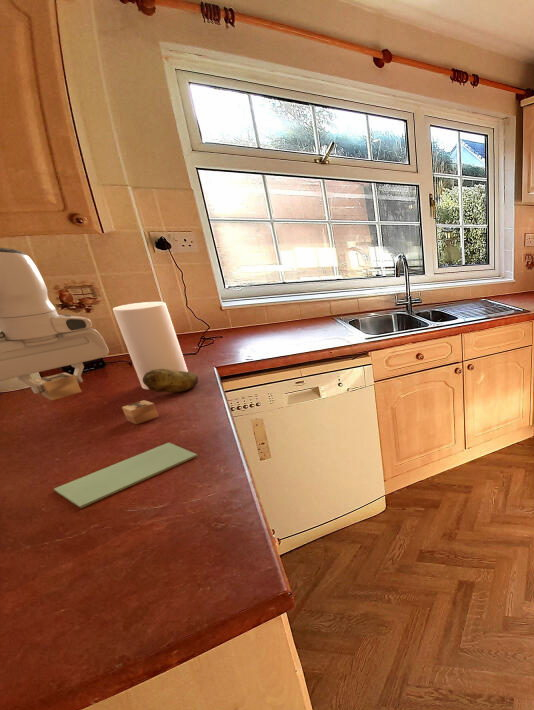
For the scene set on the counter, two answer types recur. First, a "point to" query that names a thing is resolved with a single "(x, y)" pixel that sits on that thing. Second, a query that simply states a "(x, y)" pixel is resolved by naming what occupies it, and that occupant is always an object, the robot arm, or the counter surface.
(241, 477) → the counter surface
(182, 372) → the potato
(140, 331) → the cylinder
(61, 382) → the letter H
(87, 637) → the counter surface
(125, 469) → the mat
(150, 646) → the counter surface
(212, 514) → the counter surface
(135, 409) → the tan boxy piece
